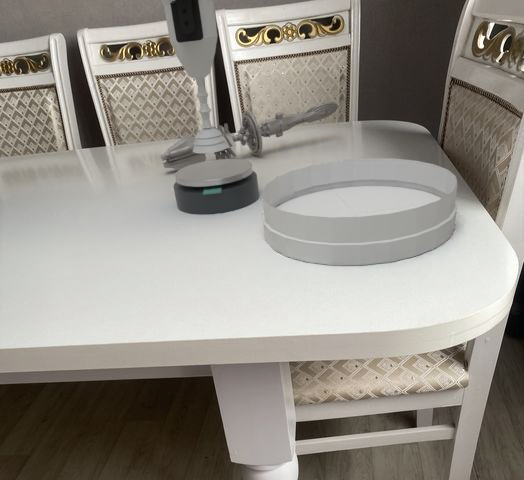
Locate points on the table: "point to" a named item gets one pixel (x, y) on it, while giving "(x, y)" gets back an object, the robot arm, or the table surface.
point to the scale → (217, 196)
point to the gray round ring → (360, 211)
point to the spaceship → (245, 135)
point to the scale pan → (213, 172)
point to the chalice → (199, 71)
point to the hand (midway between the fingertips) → (193, 38)
